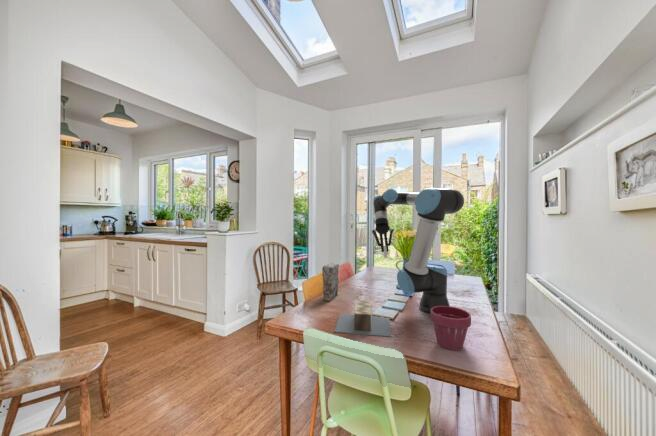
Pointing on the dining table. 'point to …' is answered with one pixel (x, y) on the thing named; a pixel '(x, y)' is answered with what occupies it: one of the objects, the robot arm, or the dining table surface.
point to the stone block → (330, 281)
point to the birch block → (363, 316)
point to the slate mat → (378, 328)
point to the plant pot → (450, 326)
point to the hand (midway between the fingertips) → (385, 257)
